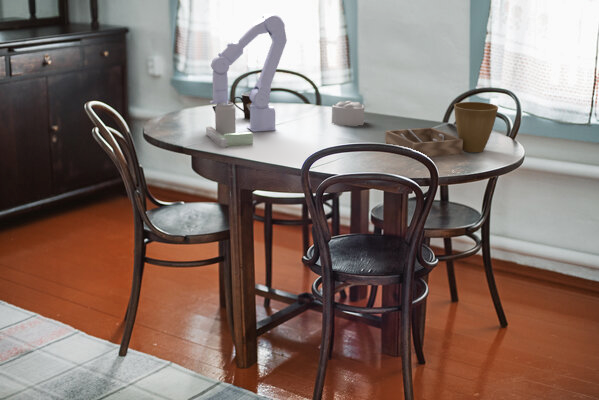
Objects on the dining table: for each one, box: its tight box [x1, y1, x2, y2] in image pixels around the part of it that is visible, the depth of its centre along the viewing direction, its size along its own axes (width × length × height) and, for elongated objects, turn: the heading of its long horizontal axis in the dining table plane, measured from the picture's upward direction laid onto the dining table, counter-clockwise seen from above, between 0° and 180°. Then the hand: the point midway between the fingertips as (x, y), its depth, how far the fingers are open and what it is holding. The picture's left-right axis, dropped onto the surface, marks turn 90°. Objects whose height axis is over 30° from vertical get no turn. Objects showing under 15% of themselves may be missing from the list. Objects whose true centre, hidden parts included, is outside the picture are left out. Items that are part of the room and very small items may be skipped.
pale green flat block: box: [205, 126, 254, 149], centre depth 277 cm, size 12×22×4 cm, turn 21°
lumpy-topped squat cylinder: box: [331, 100, 365, 127], centre depth 308 cm, size 10×13×9 cm
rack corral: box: [384, 127, 463, 158], centre depth 267 cm, size 19×21×5 cm
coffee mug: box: [232, 92, 252, 121], centre depth 315 cm, size 12×9×10 cm
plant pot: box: [453, 101, 499, 153], centre depth 265 cm, size 15×15×16 cm
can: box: [214, 101, 237, 136], centre depth 284 cm, size 8×8×12 cm
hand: (220, 124), depth 291 cm, fingers closed
